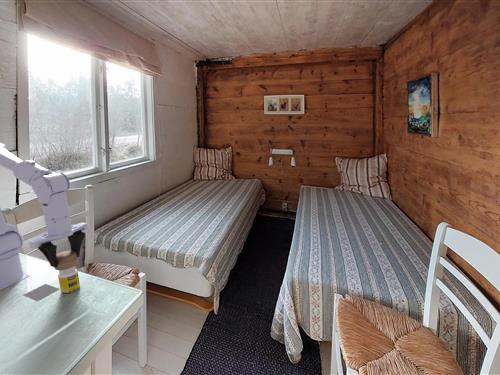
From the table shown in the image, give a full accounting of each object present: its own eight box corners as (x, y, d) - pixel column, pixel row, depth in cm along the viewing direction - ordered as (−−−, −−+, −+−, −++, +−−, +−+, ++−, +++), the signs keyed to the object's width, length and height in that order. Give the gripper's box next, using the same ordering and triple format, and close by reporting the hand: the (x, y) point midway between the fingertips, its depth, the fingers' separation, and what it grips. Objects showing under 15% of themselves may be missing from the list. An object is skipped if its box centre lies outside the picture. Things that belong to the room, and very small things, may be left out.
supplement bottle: (71, 297, 76) (66, 271, 74) (57, 295, 77) (52, 269, 75) (84, 287, 81) (80, 262, 79) (71, 285, 82) (66, 261, 80)
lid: (49, 267, 75) (47, 257, 75) (69, 258, 80) (67, 249, 80) (63, 271, 73) (61, 261, 73) (82, 262, 78) (80, 252, 78)
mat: (23, 296, 77) (22, 294, 76) (45, 285, 82) (45, 283, 82) (38, 302, 74) (37, 300, 74) (60, 290, 79) (59, 289, 79)
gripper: (37, 227, 65) (47, 276, 68) (91, 210, 78) (98, 252, 81) (20, 223, 68) (30, 271, 71) (75, 208, 81) (82, 248, 84)
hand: (65, 261), depth 77 cm, fingers closed on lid, 6 cm apart
